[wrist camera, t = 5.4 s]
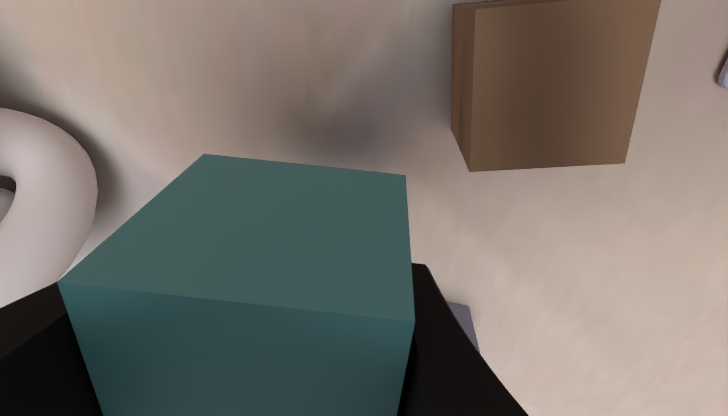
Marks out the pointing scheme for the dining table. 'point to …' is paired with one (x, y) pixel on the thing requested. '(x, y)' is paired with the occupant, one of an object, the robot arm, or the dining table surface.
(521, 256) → the dining table surface
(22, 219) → the white knot sculpture
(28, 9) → the dining table surface
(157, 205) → the teal block
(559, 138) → the walnut block
